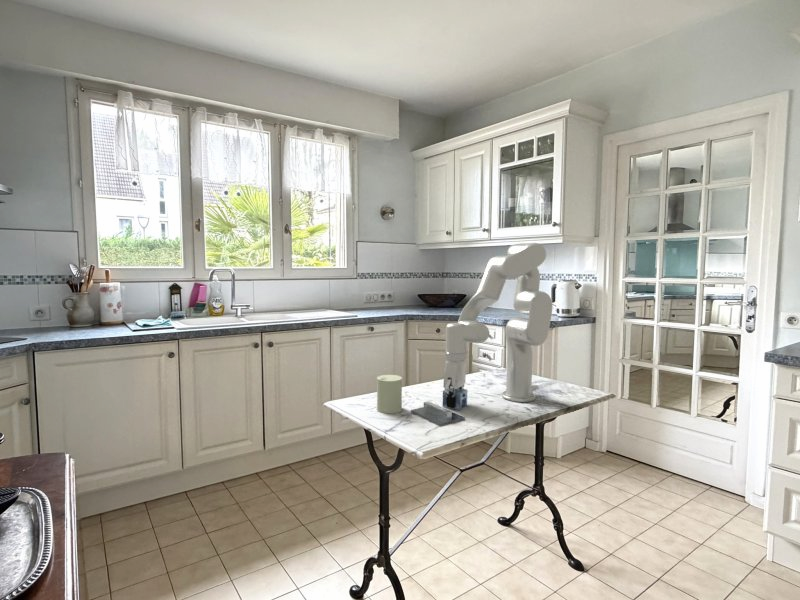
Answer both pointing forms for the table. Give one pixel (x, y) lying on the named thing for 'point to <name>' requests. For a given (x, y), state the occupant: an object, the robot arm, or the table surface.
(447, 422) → the rail
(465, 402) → the blue-grey slotted block
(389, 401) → the can
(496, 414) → the table surface
